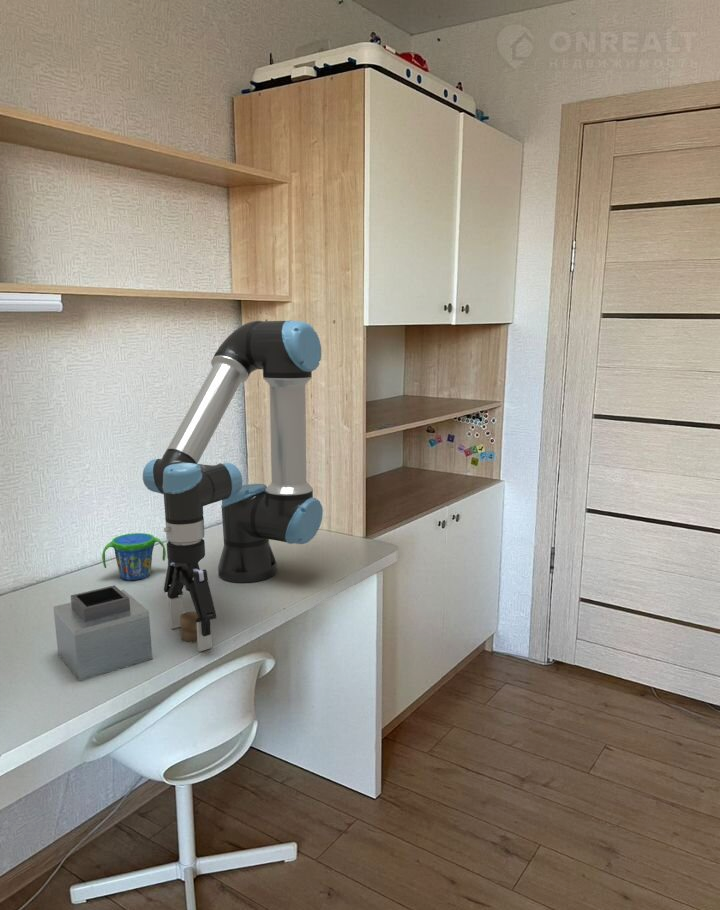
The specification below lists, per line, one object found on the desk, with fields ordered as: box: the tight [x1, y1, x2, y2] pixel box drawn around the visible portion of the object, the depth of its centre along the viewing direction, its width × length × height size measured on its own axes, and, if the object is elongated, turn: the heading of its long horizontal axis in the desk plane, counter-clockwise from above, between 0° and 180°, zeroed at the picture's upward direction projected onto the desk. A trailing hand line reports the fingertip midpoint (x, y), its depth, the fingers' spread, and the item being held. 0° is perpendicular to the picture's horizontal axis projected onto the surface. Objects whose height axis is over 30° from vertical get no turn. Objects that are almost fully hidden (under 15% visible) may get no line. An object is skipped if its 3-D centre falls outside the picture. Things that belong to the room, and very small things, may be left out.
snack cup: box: [101, 532, 167, 581], centre depth 184 cm, size 16×10×10 cm
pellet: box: [180, 611, 198, 643], centre depth 149 cm, size 4×4×5 cm
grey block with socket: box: [53, 584, 153, 682], centre depth 140 cm, size 14×14×12 cm
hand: (190, 637), depth 149 cm, fingers open, 13 cm apart
